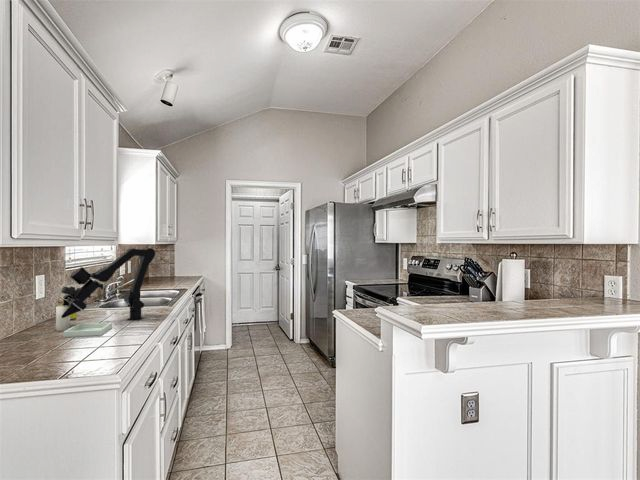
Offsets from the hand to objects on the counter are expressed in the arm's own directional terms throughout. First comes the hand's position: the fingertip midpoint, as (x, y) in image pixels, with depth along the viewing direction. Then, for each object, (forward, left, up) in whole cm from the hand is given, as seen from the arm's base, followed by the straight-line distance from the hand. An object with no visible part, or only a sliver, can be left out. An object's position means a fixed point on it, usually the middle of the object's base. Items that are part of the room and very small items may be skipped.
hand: (59, 316), depth 171 cm
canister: (-1, +1, -7) cm, 7 cm away
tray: (+7, +15, -7) cm, 18 cm away
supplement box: (-22, -6, -7) cm, 24 cm away
